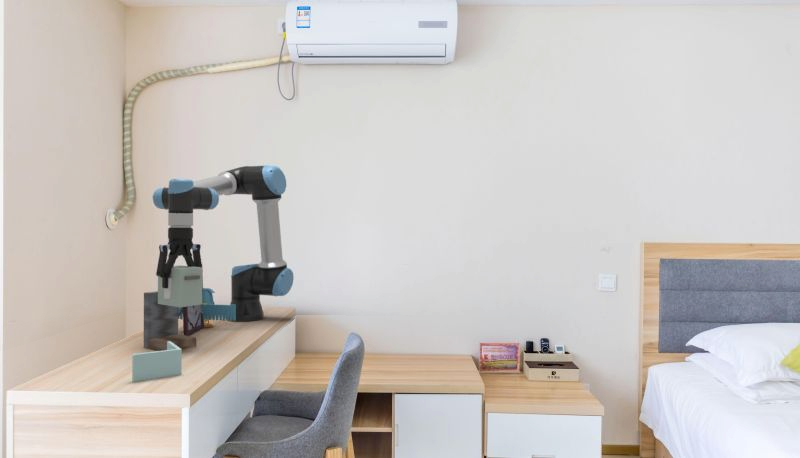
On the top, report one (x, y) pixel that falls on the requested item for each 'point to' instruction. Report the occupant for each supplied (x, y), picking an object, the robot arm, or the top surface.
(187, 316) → the picture frame
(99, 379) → the top surface
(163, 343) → the grey bookend
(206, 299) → the blue toy animal
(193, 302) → the cabinet box
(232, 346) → the top surface
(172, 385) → the top surface
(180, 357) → the l-shaped corner panel
